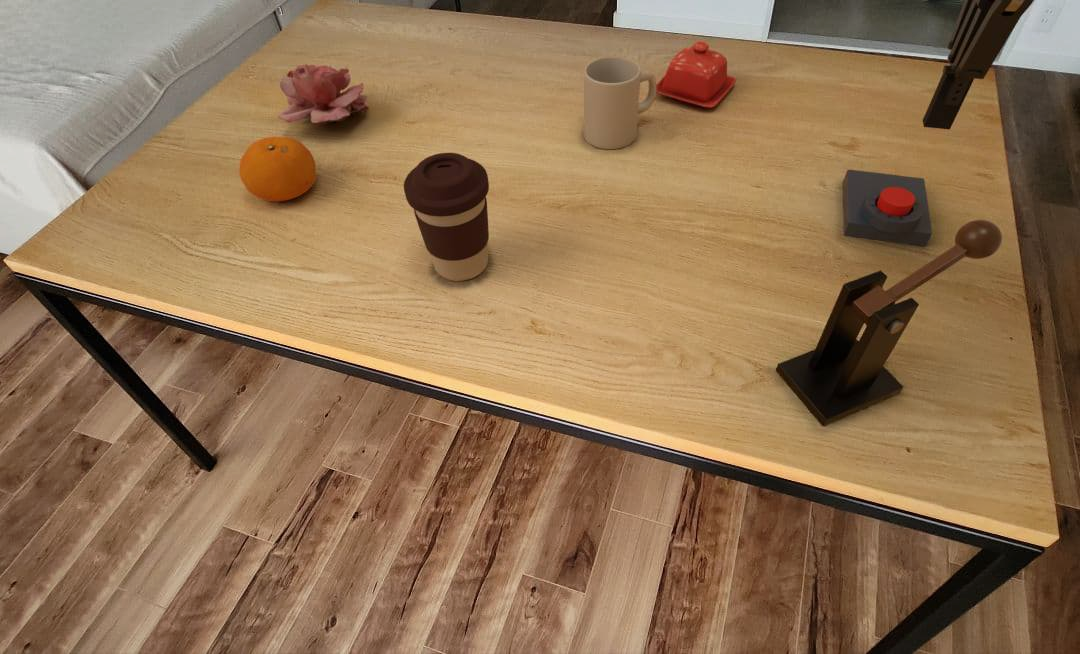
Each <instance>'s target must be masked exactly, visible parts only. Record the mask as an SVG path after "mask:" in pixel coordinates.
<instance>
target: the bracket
mask: <svg viewBox="0 0 1080 654" xmlns="http://www.w3.org/2000/svg"><path fill="white" fill-rule="evenodd" d="M887 279H888V275H887V274H886V273H885V272H883V271H882V270H878V271H875V272H873V273H870V274H867V275H864V276H861V277H859V278H857V279H852V280H851V281H847V282H845V283H843V285H842V287H841V289H840V292H839V294H838V296H837V298H836V300H835V303H834V305H833V307H832V310H831V312H830V314H829V317H828V319H827V321H826V323H825V325H824V328H823V331H822V333H821V335H820V337H819V339H818V342H817V345H816V346H815V349H812V350H811V351H807V352H804V353H802V354H799V355H797V356H794V357H792V358H790V359H787V360H784V361H781V362H779V363H778V364H777V365H776V369H775V372H776V373H777V374H778V375H779V376H780V377H781V378H782V380H783V381H784V382H785V383H786V384H787V385H788V387H789V388H790V389H791V390H792V392H793V393H794V394H795V395H796V396H797V397H798V399H799V400H800V401H801V402H802V403H803V405H804V406H805V407H806V408H807V409H808V411H810V413H811V414H812V415H813V417H815V419H816V420H817V421H818V422H819V424H820V425H821V426H822V427H824V426H827V425H829V424H832V423H834V422H836V421H838V420H841V419H843V418H845V417H848V416H850V415H852V414H854V413H857V412H859V411H862V410H864V409H866V408H868V407H871V406H873V405H876V404H878V403H881V402H882V401H885V400H887V399H890V398H893V397H894V396H897V395H899V394H901V393H902V391H903V389H904V387H905V386H904V385H903V384H902V383H901V382H900V381H899V380H898V379H897V378H896V377H895V376H894V375H893V374H892V373H891V372H890V371H889V370H888V369H887V368H886V367H885V364H886V362H887V360H888V359H889V357H890V356H891V354H892V352H893V350H895V347H896V345H897V344H898V342H899V341H900V338H901V337H902V335H903V333H904V332H905V330H906V328H907V327H908V325H909V323H910V321H911V320H912V318H913V316H914V314H915V312H916V311H917V309H918V307H919V306H920V304H919V302H918V301H916V300H915V299H914V298H913V297H909V298H907V299H904V300H902V301H898V302H897V303H896V302H895V304H894V305H891V306H889V307H886V308H884V309H881V310H878V311H876V312H874V313H873V314H872V316H871V318H870V320H869V322H868V324H867V325H865V323H864V322H863V321H862V320H861V319H860V318H859V317H858V316H857V315H855V313H854V304H853V302H854V301H855V300H857V299H858V298H860V297H861V296H863V295H864V294H866V293H867V292H869V291H870V290H872V289H874V288H875V287H877V286H878V285H879V286H880V287H881V288H882V289H883V287H884V285H885V283H886V281H887ZM864 325H865V328H864V329H863V327H864ZM862 329H863V330H864V331H863V332H862V334H861V336H860V338H859V340H858V336H859V335H860V333H861V331H862Z"/></svg>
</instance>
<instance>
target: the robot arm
mask: <svg viewBox="0 0 1080 654" xmlns="http://www.w3.org/2000/svg"><path fill="white" fill-rule="evenodd" d="M1034 1H1035V0H963V3H962V7H961V9H960V12H959V14H958V17H957V20H956V22H955V25H954V29H953V31H952V34H951V37H950V39H949V41H948V42H947V50H948V51H949V50H950V52H949V54H948V56H947V65H946V64H945V65H943V69H942V75H941V77H940V80H939V82H938V84H937V86H936V88H935V91H934V93H933V95H932V97H931V100H930V103H929V104H928V106H927V109H926V111H925V114H924V116H923V117H922V125H923V128H929V129H939V130H949V131H950V130H951V128H952V126H953V124H954V122H955V120H956V118H957V116H958V114H959V112H960V109H961V107H962V105H963V103H964V101H965V99H966V97H967V95H968V92H969V91H970V88H971V87H972V84H973V83H974V80H976V79H977V80H984V79H985V77H986V75H987V74H988V72H989V71H990V69H991V67H992V65H993V64H994V62H995V61H996V59H997V57H998V56H999V54H1000V52H1001V51H1002V49H1003V47H1004V46H1005V45H1006V42H1007V41H1008V39H1009V37H1010V36H1011V34H1012V32H1013V31H1014V29H1015V27H1016V25H1017V24H1018V23H1019V21H1020V19H1021V17H1022V16H1023V15H1024V14H1025V13H1026V12H1027V10H1028V9H1029V8H1030V7H1031V6H1032V5H1033V3H1034ZM948 64H949V65H948Z"/></svg>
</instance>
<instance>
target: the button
mask: <svg viewBox="0 0 1080 654" xmlns="http://www.w3.org/2000/svg"><path fill="white" fill-rule="evenodd" d="M914 202H915V197H914V195H913V194H912V193H911V192H909V191H908V190H905V189H903V188H899V187H889V188H886V189H884V190H883V191H882V192H881V194H880V197H879V199H878V201H877V208H878V209H879V210H880V211H881V212H884V213H886V214H888V215H890V216H897V217H903V216H906V215H908V214H909V212H910V210H911V208H912V206H913V204H914Z"/></svg>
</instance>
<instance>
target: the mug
mask: <svg viewBox="0 0 1080 654" xmlns="http://www.w3.org/2000/svg"><path fill="white" fill-rule="evenodd" d="M646 81H648V91H647V95H646V98H645V99H644V100H642V101H641V102H640V92H641V91H640V89H641V88H640V87H641V83H643V82H646ZM656 85H657V79H656V75H655V74H654V73H653V71H651V70H649V69H645V70H644V69H643V70H641V67H640V65H639V64H638V63H637V62H635V61H633V60H632V59H630V58H626V57H621V56H619V57H618V56H605V57H600V58H597V59H594V60H592V61H590V62H588V63H587V65H586V66H585V68H584V70H583V131H582V132H583V139H584V140H585V141H586V142H587V143H588V144H589V145H590V146H592V147H594V148H596V149H602V150H619V149H622V148H626V147H627V146H629V145H631V144H632V143H634V141H635V139H636V137H637V133H638V119H639V114H642V113H644V112H647V111H648V110H649V109H651V107H652V106H653V104H654V102H655V99H656V94H657V93H656Z"/></svg>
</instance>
